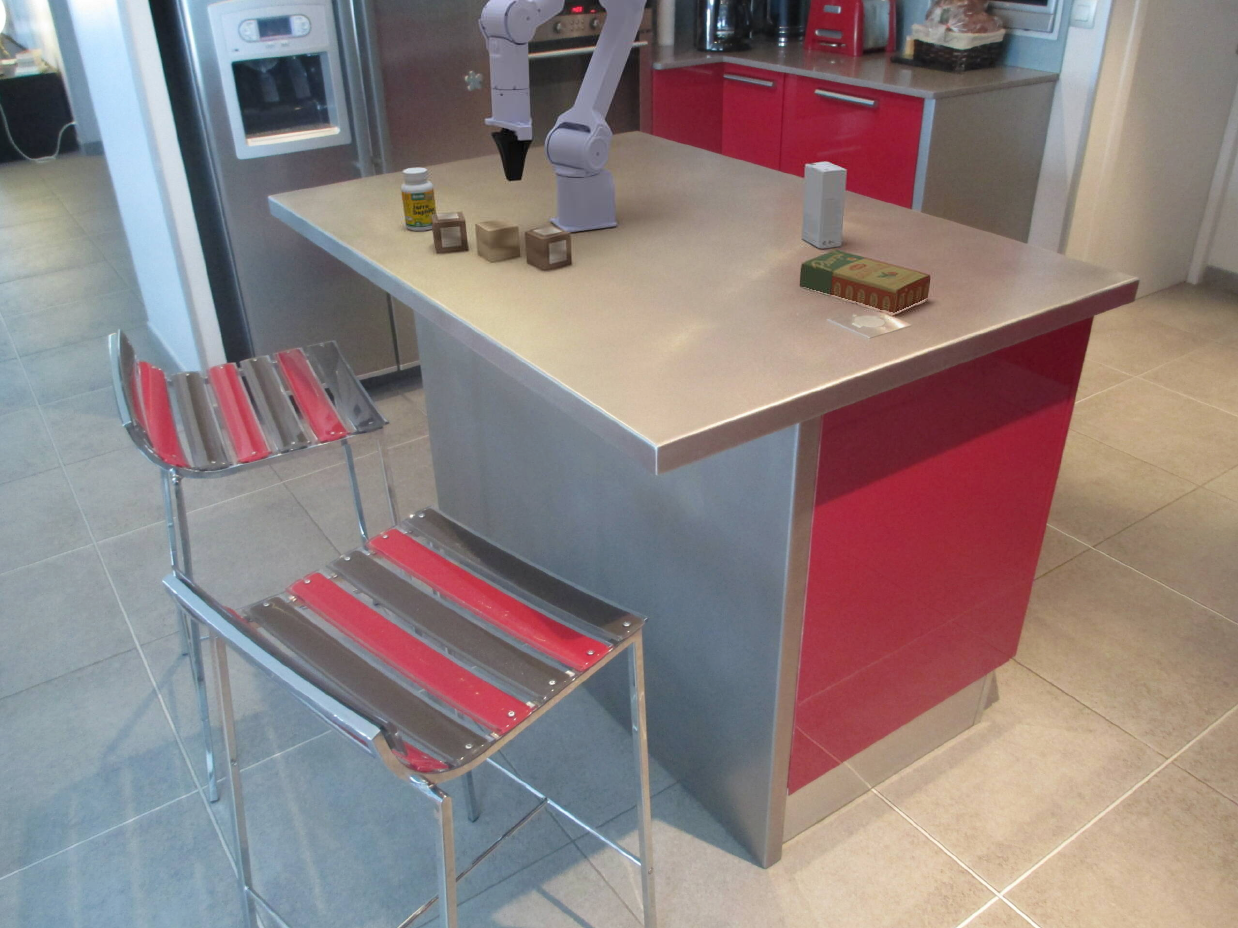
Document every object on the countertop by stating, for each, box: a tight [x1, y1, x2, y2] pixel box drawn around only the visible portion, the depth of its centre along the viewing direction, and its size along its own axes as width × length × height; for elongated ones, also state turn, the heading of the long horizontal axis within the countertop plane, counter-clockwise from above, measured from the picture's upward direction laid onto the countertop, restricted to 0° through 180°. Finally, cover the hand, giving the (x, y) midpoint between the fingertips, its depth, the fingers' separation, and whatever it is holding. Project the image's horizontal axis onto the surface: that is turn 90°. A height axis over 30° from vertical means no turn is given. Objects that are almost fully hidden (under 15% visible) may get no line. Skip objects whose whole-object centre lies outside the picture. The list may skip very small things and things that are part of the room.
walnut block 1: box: [431, 211, 469, 254], centre depth 157 cm, size 5×5×5 cm
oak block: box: [474, 217, 521, 264], centre depth 153 cm, size 5×5×5 cm
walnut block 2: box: [524, 224, 573, 272], centre depth 149 cm, size 5×5×5 cm
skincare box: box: [801, 161, 848, 250], centre depth 155 cm, size 6×4×12 cm
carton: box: [799, 249, 931, 313], centre depth 137 cm, size 8×16×4 cm, turn 42°
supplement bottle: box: [400, 167, 437, 232], centre depth 166 cm, size 5×5×10 cm
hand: (513, 180), depth 153 cm, fingers closed
